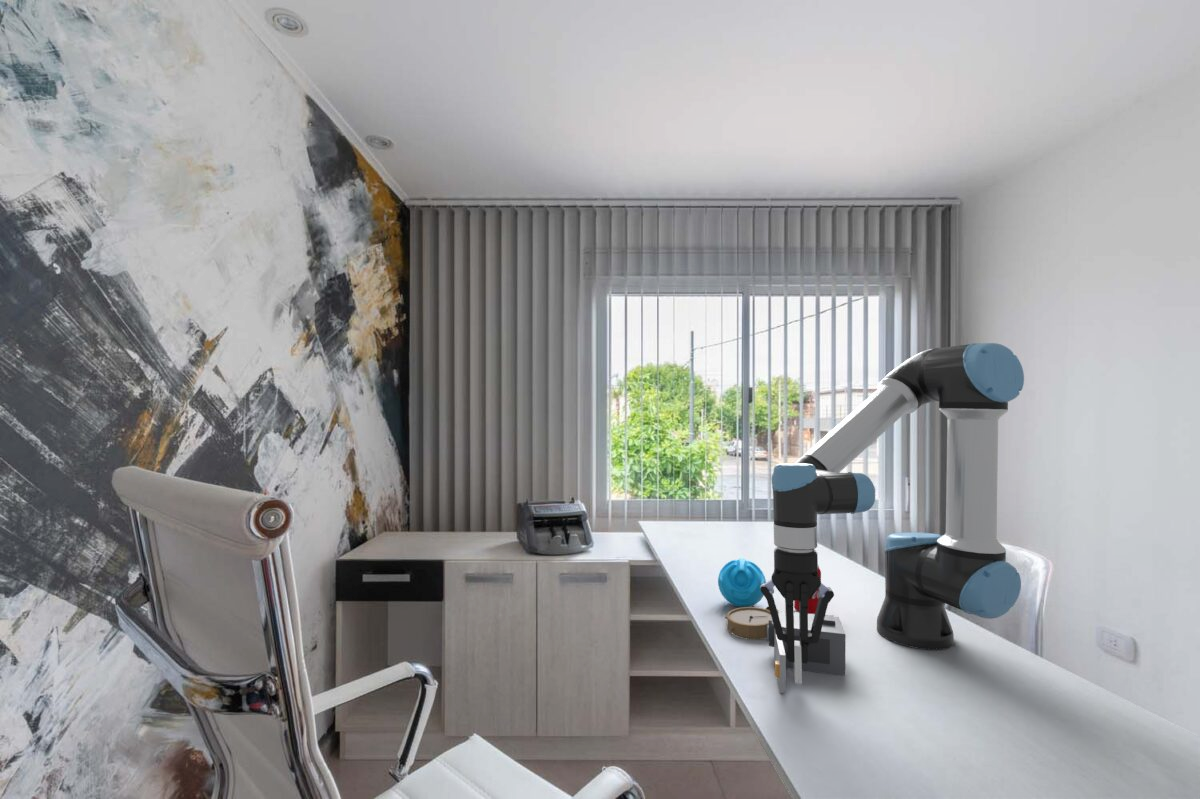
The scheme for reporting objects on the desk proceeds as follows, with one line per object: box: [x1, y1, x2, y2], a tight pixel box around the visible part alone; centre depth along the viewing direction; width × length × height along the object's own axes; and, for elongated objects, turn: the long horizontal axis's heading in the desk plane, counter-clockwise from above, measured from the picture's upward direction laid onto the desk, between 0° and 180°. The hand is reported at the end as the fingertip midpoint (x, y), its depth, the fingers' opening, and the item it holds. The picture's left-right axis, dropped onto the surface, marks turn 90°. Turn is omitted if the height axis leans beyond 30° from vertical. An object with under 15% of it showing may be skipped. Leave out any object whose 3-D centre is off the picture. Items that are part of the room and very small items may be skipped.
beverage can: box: [793, 564, 822, 614], centre depth 138 cm, size 6×6×12 cm
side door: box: [773, 629, 787, 694], centre depth 104 cm, size 11×2×8 cm, turn 167°
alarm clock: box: [724, 606, 779, 640], centre depth 127 cm, size 11×5×15 cm
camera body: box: [766, 610, 847, 677], centre depth 112 cm, size 14×9×9 cm, turn 74°
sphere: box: [717, 558, 767, 608], centre depth 143 cm, size 12×11×12 cm
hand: (797, 680), depth 99 cm, fingers closed
